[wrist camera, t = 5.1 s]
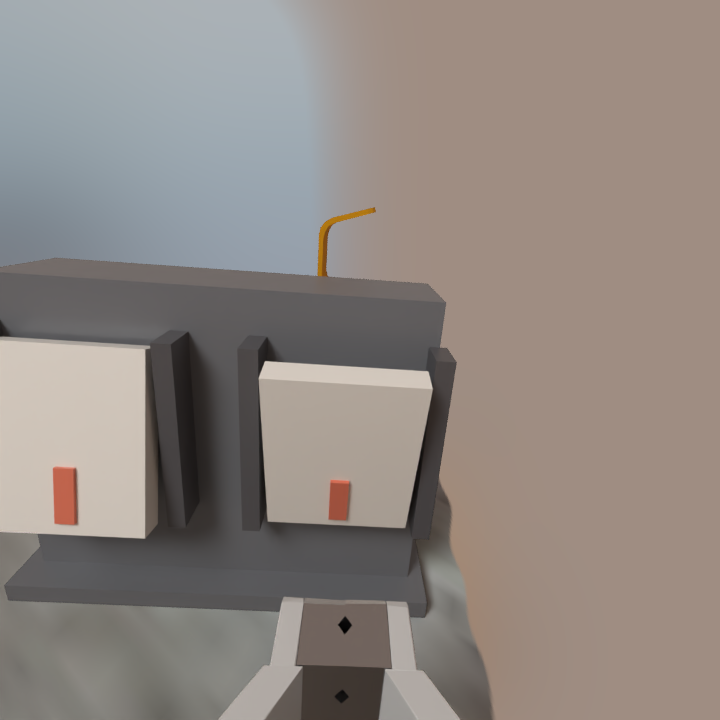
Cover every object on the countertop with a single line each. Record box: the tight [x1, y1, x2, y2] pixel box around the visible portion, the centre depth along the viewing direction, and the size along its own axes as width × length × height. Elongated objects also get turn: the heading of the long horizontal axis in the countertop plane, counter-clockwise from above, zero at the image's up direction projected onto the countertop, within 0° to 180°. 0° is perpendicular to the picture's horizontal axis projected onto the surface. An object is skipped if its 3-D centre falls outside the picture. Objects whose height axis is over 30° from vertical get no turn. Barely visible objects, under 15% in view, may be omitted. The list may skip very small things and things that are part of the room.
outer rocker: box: [259, 361, 433, 528], centre depth 23 cm, size 8×2×10 cm, turn 91°
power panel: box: [0, 258, 456, 617], centre depth 28 cm, size 26×10×20 cm, turn 91°
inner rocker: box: [0, 337, 158, 539], centre depth 22 cm, size 8×2×10 cm, turn 91°
